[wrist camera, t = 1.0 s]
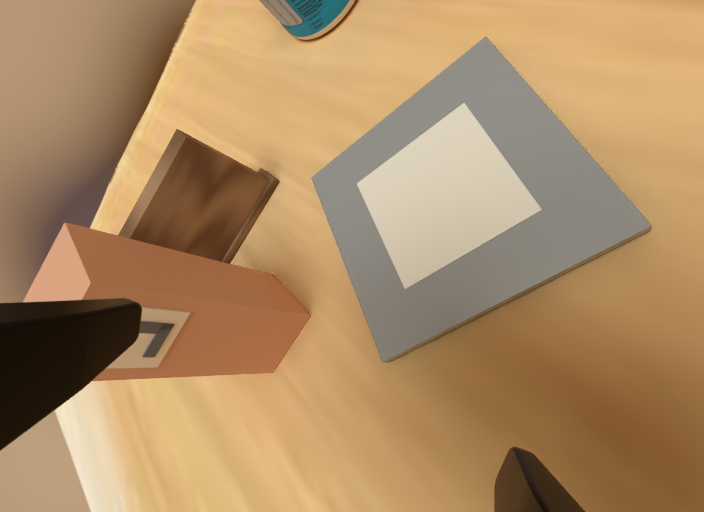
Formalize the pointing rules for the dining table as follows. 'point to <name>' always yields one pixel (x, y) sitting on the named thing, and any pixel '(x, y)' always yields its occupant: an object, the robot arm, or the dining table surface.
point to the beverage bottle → (308, 15)
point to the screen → (199, 201)
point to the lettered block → (175, 305)
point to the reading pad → (466, 203)
